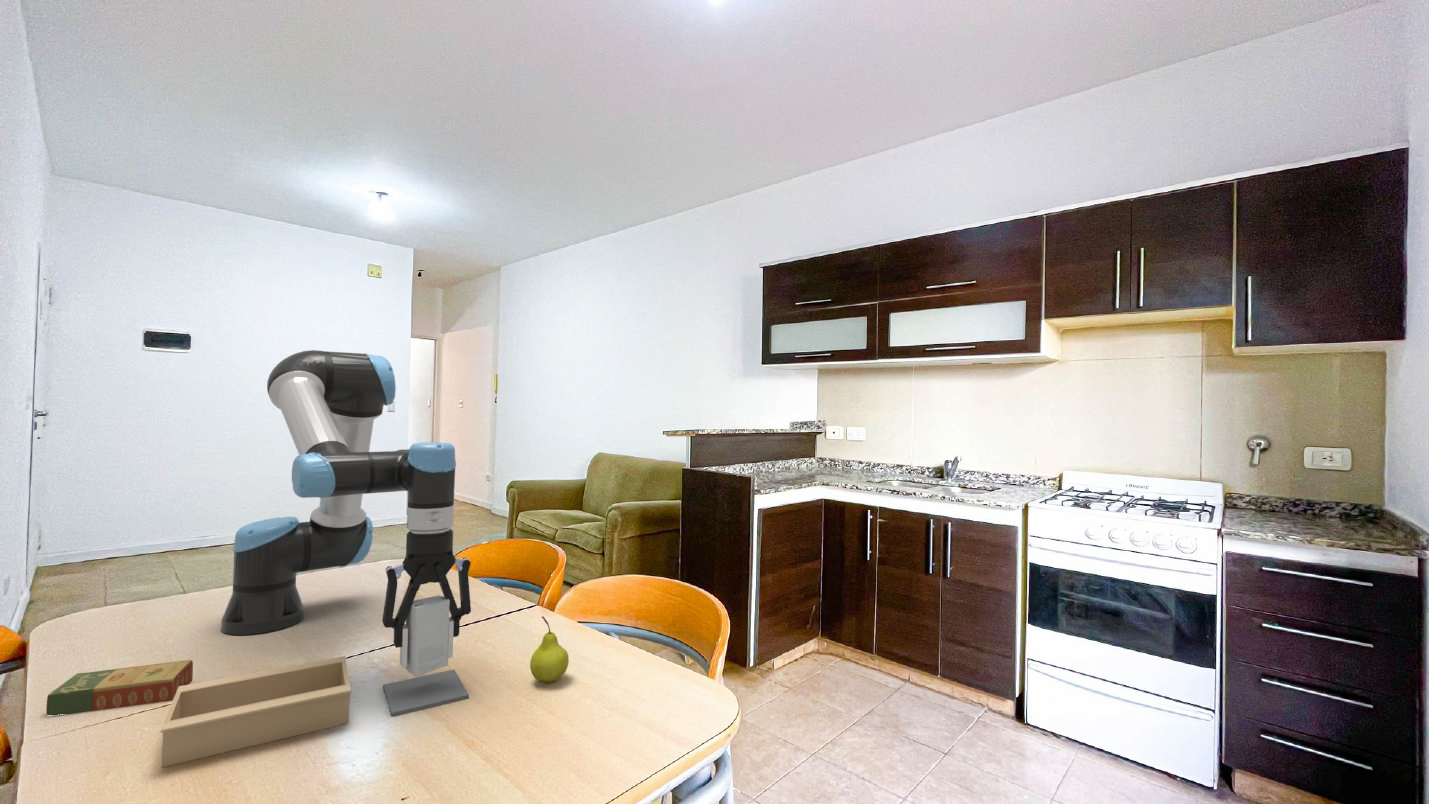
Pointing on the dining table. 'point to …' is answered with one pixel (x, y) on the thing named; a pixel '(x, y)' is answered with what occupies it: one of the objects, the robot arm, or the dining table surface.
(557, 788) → the dining table surface
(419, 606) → the skincare box
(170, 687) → the carton
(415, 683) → the mat
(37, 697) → the dining table surface
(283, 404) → the robot arm
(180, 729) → the tray
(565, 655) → the fruit
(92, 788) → the dining table surface
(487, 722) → the dining table surface
